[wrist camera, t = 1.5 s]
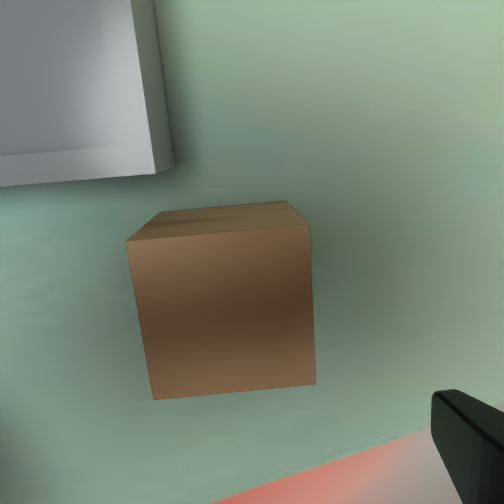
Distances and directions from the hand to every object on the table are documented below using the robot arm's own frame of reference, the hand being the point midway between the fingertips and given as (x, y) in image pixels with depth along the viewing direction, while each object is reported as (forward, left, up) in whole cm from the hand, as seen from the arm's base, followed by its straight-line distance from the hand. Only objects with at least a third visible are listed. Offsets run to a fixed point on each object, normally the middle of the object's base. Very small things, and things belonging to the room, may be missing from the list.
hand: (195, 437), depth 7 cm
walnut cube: (-1, 0, -12) cm, 12 cm away
